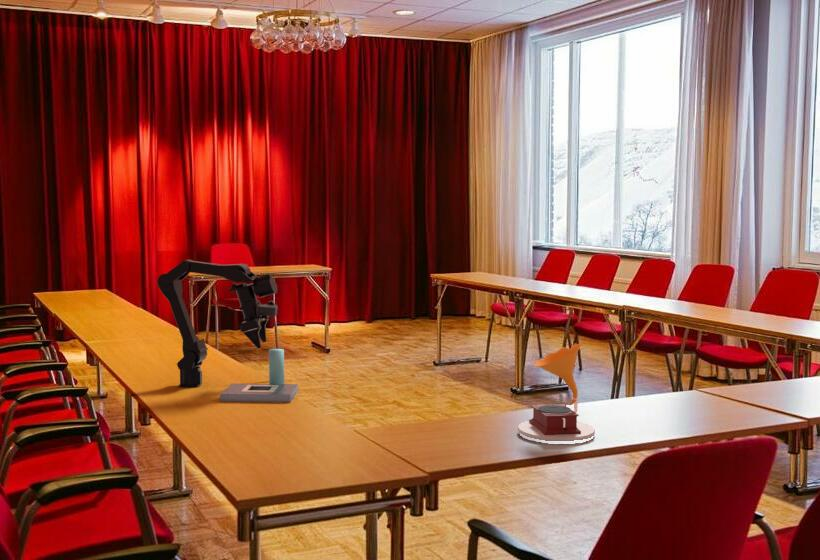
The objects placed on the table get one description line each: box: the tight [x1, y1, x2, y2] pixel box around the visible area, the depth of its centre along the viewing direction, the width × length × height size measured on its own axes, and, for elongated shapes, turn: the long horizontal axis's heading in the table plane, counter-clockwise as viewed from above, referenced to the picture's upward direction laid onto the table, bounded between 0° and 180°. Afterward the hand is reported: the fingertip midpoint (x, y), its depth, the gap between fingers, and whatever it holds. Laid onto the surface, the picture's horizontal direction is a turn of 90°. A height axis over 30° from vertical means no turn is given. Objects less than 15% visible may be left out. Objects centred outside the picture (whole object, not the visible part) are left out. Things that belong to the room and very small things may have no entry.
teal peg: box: [268, 348, 285, 384], centre depth 302 cm, size 5×5×13 cm
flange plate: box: [219, 382, 299, 403], centre depth 290 cm, size 22×16×3 cm
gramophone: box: [517, 342, 596, 441], centre depth 243 cm, size 20×20×25 cm
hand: (262, 344), depth 303 cm, fingers open, 9 cm apart
